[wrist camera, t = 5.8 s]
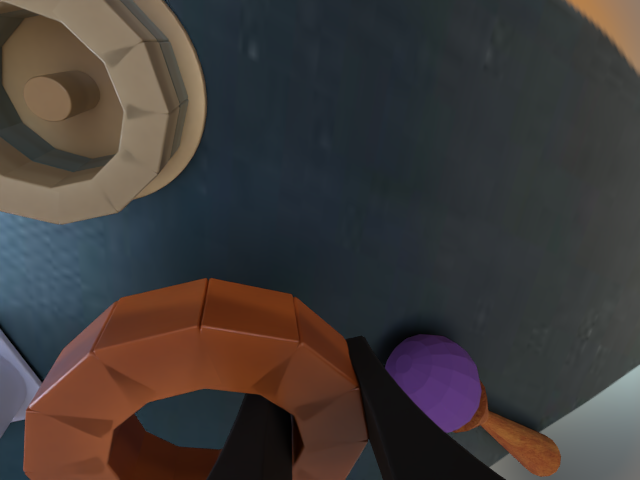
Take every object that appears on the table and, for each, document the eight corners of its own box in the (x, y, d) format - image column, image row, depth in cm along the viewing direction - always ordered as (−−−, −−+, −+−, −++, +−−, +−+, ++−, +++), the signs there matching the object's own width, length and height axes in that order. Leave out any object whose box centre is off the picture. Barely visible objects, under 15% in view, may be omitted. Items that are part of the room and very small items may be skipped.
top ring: (134, 504, 15) (118, 567, 13) (-9, 327, 10) (-64, 388, 8) (365, 443, 15) (380, 497, 13) (328, 248, 10) (342, 290, 9)
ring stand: (31, 218, 19) (-31, 265, 15) (-119, -30, 14) (-273, -58, 10) (234, 175, 19) (226, 211, 15) (157, -82, 14) (116, -129, 10)
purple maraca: (522, 504, 31) (372, 431, 22) (493, 431, 36) (359, 344, 26) (595, 483, 29) (463, 390, 19) (554, 407, 34) (431, 302, 24)
